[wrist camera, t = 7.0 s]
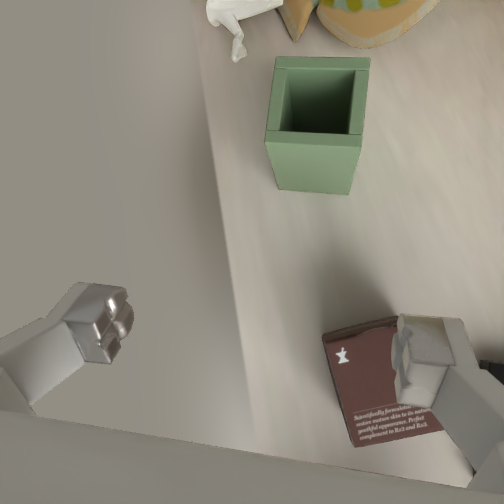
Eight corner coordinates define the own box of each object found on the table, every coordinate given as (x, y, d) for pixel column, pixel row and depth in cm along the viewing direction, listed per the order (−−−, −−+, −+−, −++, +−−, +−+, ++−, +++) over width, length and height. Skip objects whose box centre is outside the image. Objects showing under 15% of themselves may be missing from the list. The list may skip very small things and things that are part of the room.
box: (342, 414, 28) (350, 451, 21) (319, 332, 29) (320, 340, 22) (426, 396, 27) (465, 428, 20) (400, 313, 28) (428, 315, 21)
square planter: (355, 129, 31) (370, 57, 22) (348, 195, 30) (361, 148, 21) (287, 125, 32) (275, 55, 23) (278, 189, 31) (263, 142, 22)
